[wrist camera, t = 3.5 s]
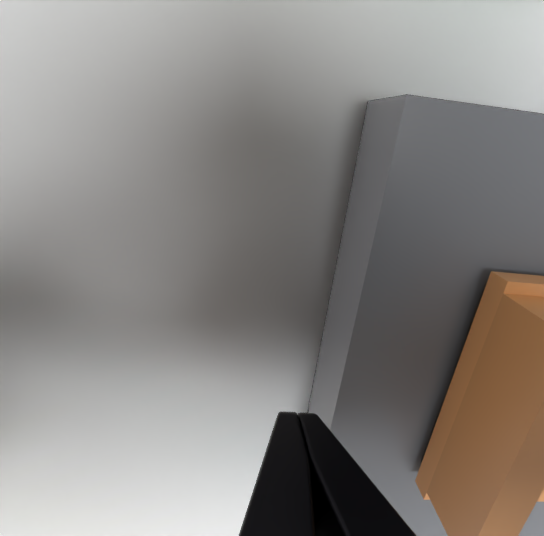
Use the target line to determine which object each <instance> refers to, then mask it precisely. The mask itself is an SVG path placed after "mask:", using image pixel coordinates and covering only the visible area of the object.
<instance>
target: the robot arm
mask: <svg viewBox="0 0 544 536" xmlns="http://www.w3.org/2000/svg"><path fill="white" fill-rule="evenodd" d="M239 536H416V534H415V533H414V532H413V531H412V529H411V528H410V527H409V526H408V525H407V523H406V522H405V521H404V520H403V519H402V517H401V516H400V515H399V514H398V512H397V511H396V510H395V509H394V508H393V506H392V505H391V504H390V503H389V501H388V500H387V499H386V498H385V497H384V495H383V494H382V493H381V492H380V490H379V489H378V488H377V487H376V486H375V484H374V483H373V482H372V481H371V479H370V478H369V477H368V476H367V475H366V473H365V472H364V471H363V470H362V469H361V467H360V466H359V465H358V464H357V462H356V461H355V460H354V459H353V458H352V456H351V455H350V454H349V453H348V451H347V450H346V449H345V448H344V447H343V445H342V444H341V443H340V442H339V440H338V439H337V438H336V437H335V436H334V434H333V433H332V432H331V431H330V430H329V428H328V427H327V426H326V425H325V423H324V422H323V421H322V420H321V419H320V417H319V416H318V415H317V414H315V413H302V412H301V413H298V414H296V413H295V412H279V413H278V415H277V418H276V421H275V425H274V428H273V431H272V434H271V437H270V440H269V443H268V446H267V449H266V452H265V456H264V459H263V462H262V465H261V468H260V471H259V474H258V477H257V480H256V484H255V487H254V490H253V493H252V496H251V499H250V502H249V505H248V508H247V512H246V515H245V518H244V521H243V524H242V527H241V530H240V533H239Z"/></svg>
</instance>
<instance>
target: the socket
mask: <svg viewBox="0 0 544 536" xmlns="http://www.w3.org/2000/svg"><path fill="white" fill-rule="evenodd" d="M491 271H494V272H505V273H517V274H528V275H539V276H544V114H542V113H535V112H528V111H521V110H514V109H507V108H500V107H493V106H485V105H478V104H471V103H464V102H457V101H450V100H443V99H436V98H428V97H421V96H414V95H407V94H406V95H401V96H395V97H389V98H383V99H377V100H371V101H368V104H367V109H366V114H365V120H364V125H363V130H362V135H361V140H360V145H359V150H358V156H357V161H356V166H355V171H354V176H353V181H352V186H351V192H350V197H349V202H348V207H347V212H346V217H345V222H344V228H343V233H342V238H341V243H340V248H339V253H338V259H337V264H336V269H335V274H334V279H333V284H332V289H331V295H330V300H329V305H328V310H327V315H326V320H325V325H324V331H323V336H322V341H321V346H320V351H319V356H318V361H317V367H316V372H315V377H314V382H313V387H312V392H311V397H310V403H309V408H308V413H315V414H317V415H318V416H319V417H320V419H321V420H322V421H323V422H324V423H325V425H326V426H327V427H328V428H329V430H330V431H331V432H332V433H333V434H334V436H335V437H336V438H337V439H338V440H339V442H340V443H341V444H342V445H343V447H344V448H345V449H346V450H347V451H348V453H349V454H350V455H351V456H352V458H353V459H354V460H355V461H356V462H357V464H358V465H359V466H360V467H361V469H362V470H363V471H364V472H365V473H366V475H367V476H368V477H369V478H370V479H371V481H372V482H373V483H374V484H375V486H376V487H377V488H378V489H379V490H380V492H381V493H382V494H383V495H384V497H385V498H386V499H387V500H388V501H389V503H390V504H391V505H392V506H393V508H394V509H395V510H396V511H397V512H398V514H399V515H400V516H401V517H402V519H403V520H404V521H405V522H406V523H407V525H408V526H409V527H410V528H411V529H412V531H413V532H414V533H415V534H416V536H448V535H447V533H446V531H445V529H444V527H443V525H442V523H441V521H440V519H439V517H438V515H437V513H436V511H435V509H434V506H433V504H432V502H431V500H424V499H423V497H422V495H421V493H420V490H419V488H418V486H417V484H416V482H415V480H416V477H417V474H418V471H419V469H420V466H421V463H422V460H423V458H424V455H425V452H426V449H427V447H428V444H429V441H430V438H431V436H432V433H433V430H434V427H435V424H436V422H437V419H438V416H439V413H440V411H441V408H442V405H443V402H444V400H445V397H446V394H447V391H448V389H449V386H450V383H451V380H452V378H453V375H454V372H455V369H456V367H457V364H458V361H459V358H460V356H461V353H462V350H463V347H464V344H465V342H466V339H467V336H468V333H469V331H470V328H471V325H472V322H473V320H474V317H475V314H476V311H477V309H478V306H479V303H480V300H481V298H482V295H483V292H484V289H485V287H486V284H487V281H488V278H489V276H490V273H491ZM518 536H544V502H536V504H535V506H534V508H533V510H532V511H531V513H530V515H529V517H528V519H527V521H526V522H525V524H524V526H523V528H522V530H521V532H520V533H519V535H518Z"/></svg>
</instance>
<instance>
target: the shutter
mask: <svg viewBox="0 0 544 536" xmlns="http://www.w3.org/2000/svg"><path fill="white" fill-rule="evenodd" d="M415 482H416V484H417V486H418V488H419V490H420V493H421V495H422V497H423V499H424V500H431V502H432V504H433V506H434V509H435V511H436V513H437V515H438V517H439V519H440V521H441V523H442V525H443V527H444V529H445V531H446V533H447V535H448V536H518V535H519V533H520V532H521V530H522V528H523V526H524V524H525V522H526V521H527V519H528V517H529V515H530V513H531V511H532V510H533V508H534V506H535V504H536V502H544V276H539V275H528V274H517V273H505V272H494V271H491V273H490V276H489V278H488V281H487V284H486V287H485V289H484V292H483V295H482V298H481V300H480V303H479V306H478V309H477V311H476V314H475V317H474V320H473V322H472V325H471V328H470V331H469V333H468V336H467V339H466V342H465V344H464V347H463V350H462V353H461V356H460V358H459V361H458V364H457V367H456V369H455V372H454V375H453V378H452V380H451V383H450V386H449V389H448V391H447V394H446V397H445V400H444V402H443V405H442V408H441V411H440V413H439V416H438V419H437V422H436V424H435V427H434V430H433V433H432V436H431V438H430V441H429V444H428V447H427V449H426V452H425V455H424V458H423V460H422V463H421V466H420V469H419V471H418V474H417V477H416V480H415Z"/></svg>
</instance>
